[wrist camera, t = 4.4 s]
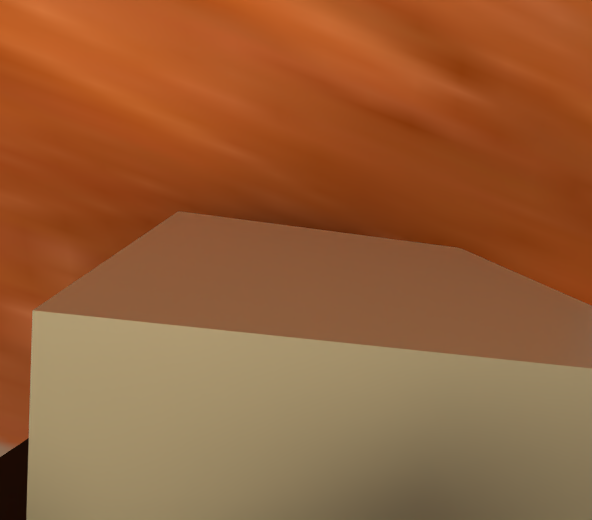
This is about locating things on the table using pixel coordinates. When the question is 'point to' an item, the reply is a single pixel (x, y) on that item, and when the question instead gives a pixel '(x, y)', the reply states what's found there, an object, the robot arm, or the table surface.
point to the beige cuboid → (307, 383)
